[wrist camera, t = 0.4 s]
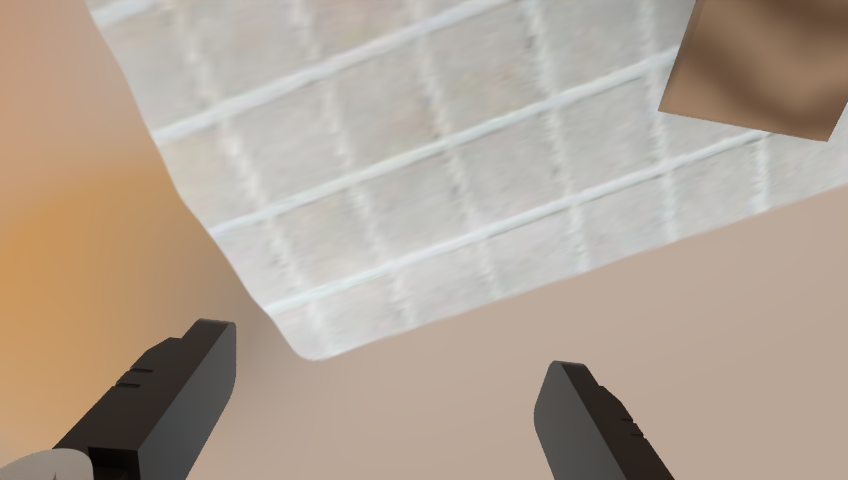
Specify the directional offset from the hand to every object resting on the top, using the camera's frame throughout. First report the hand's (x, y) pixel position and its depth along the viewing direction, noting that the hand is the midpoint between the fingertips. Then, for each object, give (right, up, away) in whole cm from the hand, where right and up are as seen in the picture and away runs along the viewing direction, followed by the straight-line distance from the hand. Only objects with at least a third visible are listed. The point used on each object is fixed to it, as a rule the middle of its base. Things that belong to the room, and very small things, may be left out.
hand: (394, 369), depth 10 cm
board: (+31, +23, +23) cm, 45 cm away
